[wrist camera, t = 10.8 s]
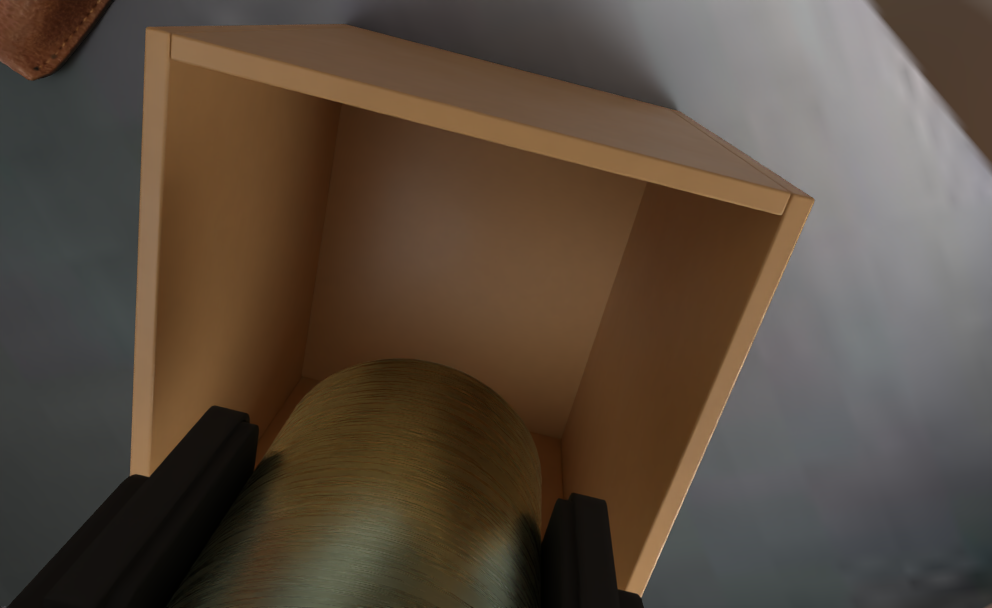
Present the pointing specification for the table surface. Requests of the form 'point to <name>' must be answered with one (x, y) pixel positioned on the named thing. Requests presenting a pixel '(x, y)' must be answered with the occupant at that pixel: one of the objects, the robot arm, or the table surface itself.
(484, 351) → the carton
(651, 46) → the table surface
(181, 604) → the tea tin
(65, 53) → the sunglasses case
